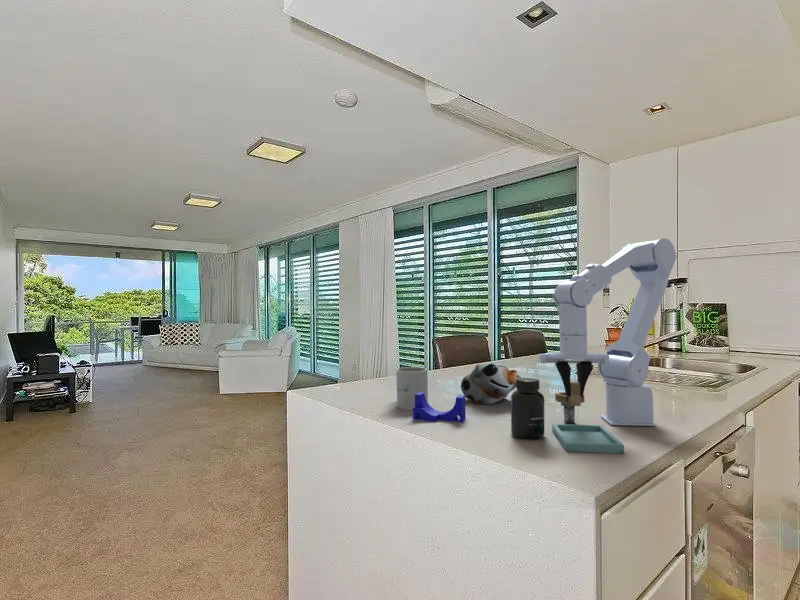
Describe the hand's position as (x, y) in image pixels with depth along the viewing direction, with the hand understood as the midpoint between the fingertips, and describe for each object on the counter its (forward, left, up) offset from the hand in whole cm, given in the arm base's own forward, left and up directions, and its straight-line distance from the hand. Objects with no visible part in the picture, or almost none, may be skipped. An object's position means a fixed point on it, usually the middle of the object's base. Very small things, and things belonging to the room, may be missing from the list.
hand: (574, 395), depth 100 cm
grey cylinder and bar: (0, -5, -7) cm, 9 cm away
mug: (+40, -21, -8) cm, 45 cm away
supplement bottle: (+11, +7, -8) cm, 15 cm away
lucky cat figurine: (+17, -27, -8) cm, 33 cm away
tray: (0, +9, -7) cm, 12 cm away
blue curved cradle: (+31, -5, -8) cm, 32 cm away
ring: (0, -3, -2) cm, 4 cm away
